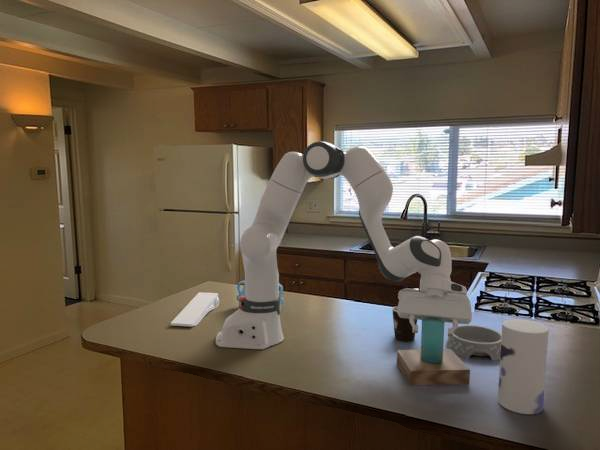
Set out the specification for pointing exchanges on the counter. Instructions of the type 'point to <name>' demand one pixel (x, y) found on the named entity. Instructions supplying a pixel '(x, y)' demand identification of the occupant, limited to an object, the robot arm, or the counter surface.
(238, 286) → the blue figurine
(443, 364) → the wavy tan tile
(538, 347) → the container
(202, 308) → the white curved piece
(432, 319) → the teal rounded cylinder
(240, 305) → the robot arm
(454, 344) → the dog bowl
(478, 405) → the counter surface
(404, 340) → the coffee mug
